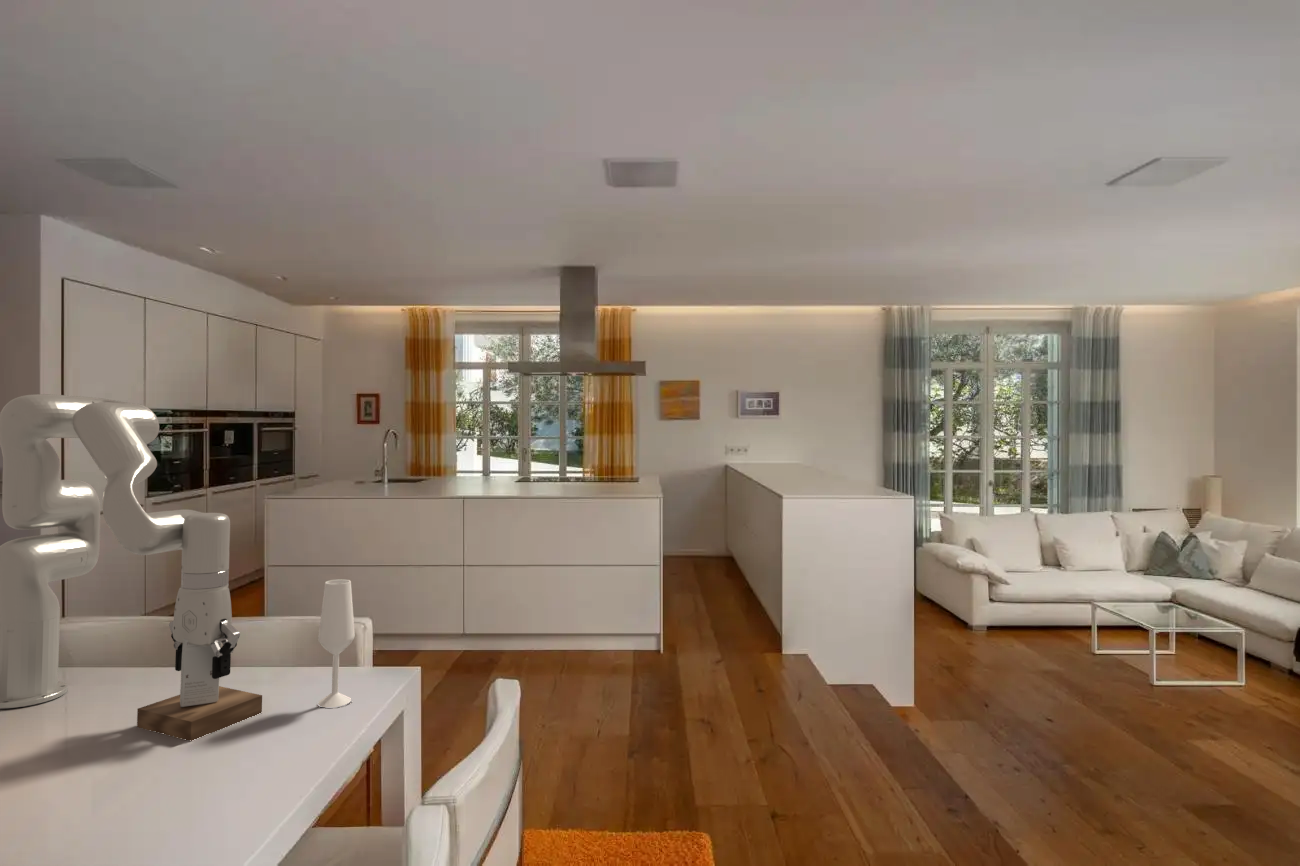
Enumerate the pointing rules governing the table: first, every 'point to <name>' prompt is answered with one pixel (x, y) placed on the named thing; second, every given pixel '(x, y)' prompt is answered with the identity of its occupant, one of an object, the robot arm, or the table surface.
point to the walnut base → (199, 714)
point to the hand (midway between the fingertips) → (202, 672)
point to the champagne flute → (336, 631)
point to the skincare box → (197, 675)
